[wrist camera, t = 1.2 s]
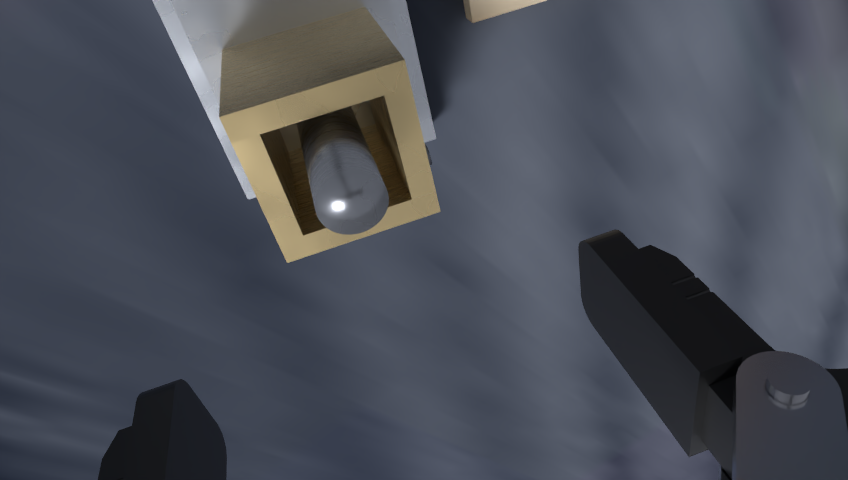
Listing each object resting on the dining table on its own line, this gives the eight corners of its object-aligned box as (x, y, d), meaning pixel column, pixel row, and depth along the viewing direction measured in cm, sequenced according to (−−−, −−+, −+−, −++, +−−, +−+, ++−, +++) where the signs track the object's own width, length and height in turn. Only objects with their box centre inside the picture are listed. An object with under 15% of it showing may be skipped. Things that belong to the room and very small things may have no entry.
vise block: (129, -65, 23) (27, 40, 12) (370, -132, 24) (497, -96, 12) (247, 185, 30) (257, 400, 19) (428, 126, 31) (542, 299, 20)
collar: (221, 49, 20) (218, 117, 15) (365, 6, 21) (404, 59, 16) (275, 174, 23) (287, 262, 19) (399, 135, 24) (440, 211, 19)
